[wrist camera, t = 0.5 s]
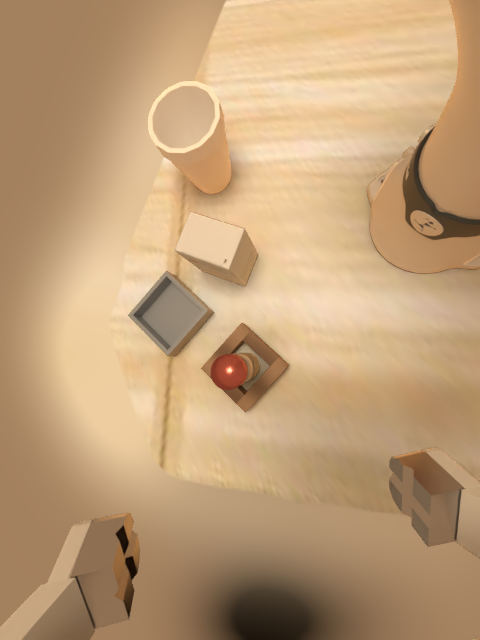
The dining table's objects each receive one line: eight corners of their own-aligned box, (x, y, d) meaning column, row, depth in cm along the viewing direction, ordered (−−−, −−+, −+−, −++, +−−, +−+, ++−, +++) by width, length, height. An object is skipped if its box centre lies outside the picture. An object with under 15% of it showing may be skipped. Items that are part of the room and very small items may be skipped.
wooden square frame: (244, 324, 47) (241, 322, 44) (289, 364, 45) (288, 365, 42) (206, 367, 47) (201, 368, 45) (248, 409, 45) (245, 412, 43)
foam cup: (185, 153, 51) (147, 89, 39) (239, 143, 49) (217, 73, 37) (187, 207, 50) (148, 159, 38) (242, 199, 49) (221, 146, 36)
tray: (174, 275, 50) (166, 270, 47) (214, 312, 48) (208, 310, 45) (138, 317, 50) (127, 315, 47) (176, 355, 48) (167, 355, 45)
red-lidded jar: (245, 347, 46) (226, 346, 35) (265, 365, 45) (252, 371, 34) (228, 366, 46) (203, 372, 35) (247, 384, 46) (228, 397, 34)
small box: (258, 254, 47) (246, 228, 37) (245, 287, 47) (229, 270, 37) (213, 238, 49) (189, 209, 39) (200, 270, 49) (173, 250, 39)
